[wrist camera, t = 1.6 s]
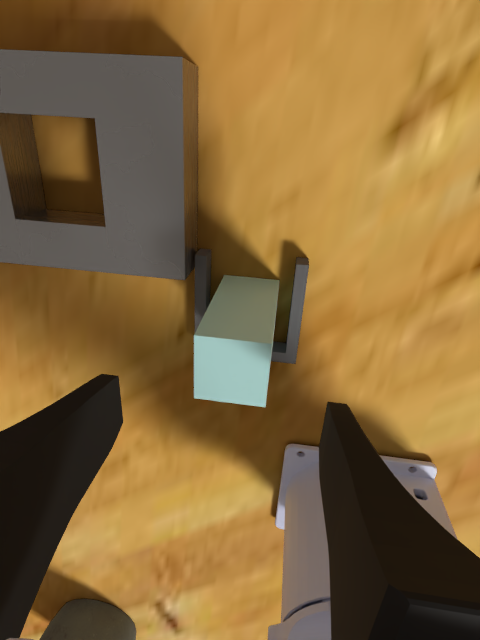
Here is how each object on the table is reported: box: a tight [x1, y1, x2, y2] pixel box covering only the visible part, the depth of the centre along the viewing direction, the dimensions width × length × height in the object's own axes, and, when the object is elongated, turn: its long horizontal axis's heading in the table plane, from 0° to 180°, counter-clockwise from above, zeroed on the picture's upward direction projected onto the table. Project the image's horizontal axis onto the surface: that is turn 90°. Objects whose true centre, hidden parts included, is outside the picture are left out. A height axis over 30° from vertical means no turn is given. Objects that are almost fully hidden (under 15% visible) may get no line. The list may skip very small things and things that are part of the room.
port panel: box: [0, 49, 198, 280], centre depth 18 cm, size 12×9×3 cm
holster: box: [195, 249, 309, 364], centre depth 21 cm, size 6×6×1 cm
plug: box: [194, 275, 280, 407], centre depth 19 cm, size 3×3×7 cm
